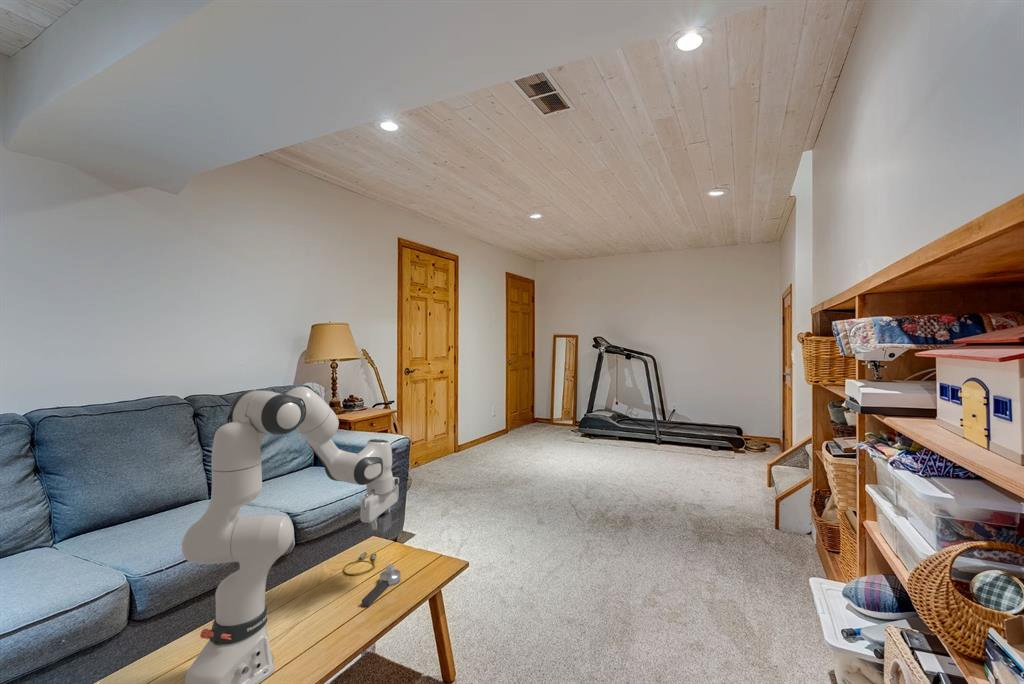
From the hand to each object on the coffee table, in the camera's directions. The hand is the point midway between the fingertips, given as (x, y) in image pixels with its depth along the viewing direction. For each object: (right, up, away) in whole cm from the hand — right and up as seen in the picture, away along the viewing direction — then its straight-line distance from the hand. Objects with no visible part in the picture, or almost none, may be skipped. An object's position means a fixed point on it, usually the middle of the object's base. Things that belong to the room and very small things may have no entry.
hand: (380, 524), depth 161 cm
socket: (0, -2, 0) cm, 2 cm away
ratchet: (+2, -20, -5) cm, 21 cm away
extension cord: (-11, -21, +13) cm, 27 cm away
